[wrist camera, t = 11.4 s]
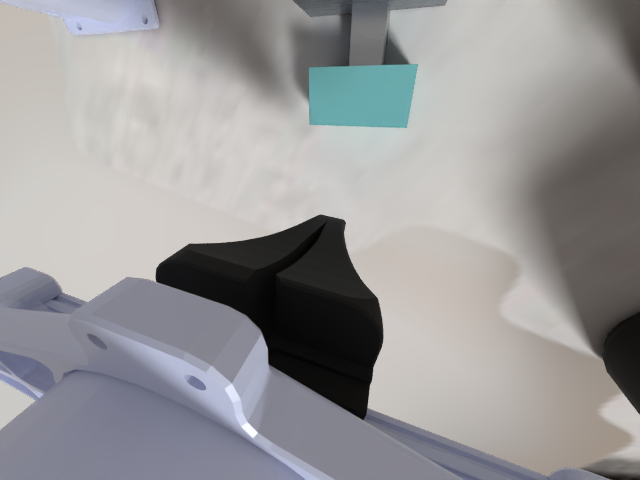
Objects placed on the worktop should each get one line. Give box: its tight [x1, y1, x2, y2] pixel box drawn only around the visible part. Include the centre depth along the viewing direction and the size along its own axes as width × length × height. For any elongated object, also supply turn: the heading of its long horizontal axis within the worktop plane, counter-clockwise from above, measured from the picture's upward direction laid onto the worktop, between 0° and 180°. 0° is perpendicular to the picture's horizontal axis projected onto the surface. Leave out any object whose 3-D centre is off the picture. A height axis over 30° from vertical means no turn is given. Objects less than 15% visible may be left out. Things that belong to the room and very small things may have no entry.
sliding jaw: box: [293, 0, 447, 128], centre depth 13 cm, size 8×9×4 cm
